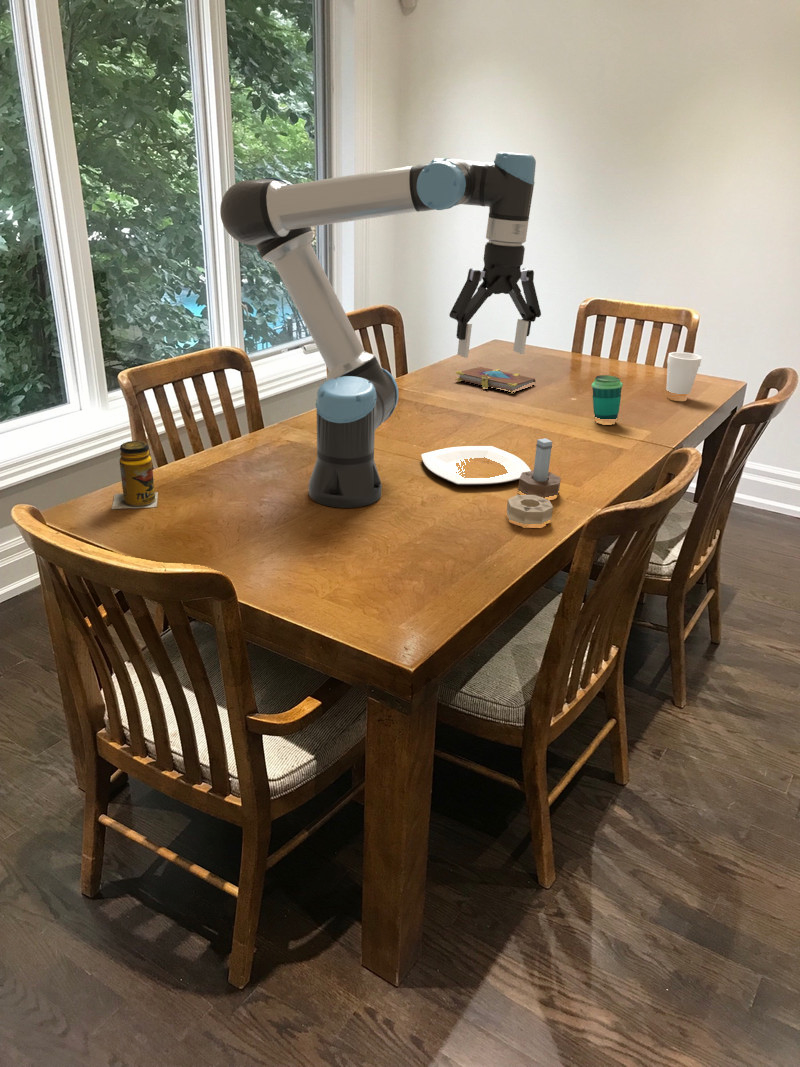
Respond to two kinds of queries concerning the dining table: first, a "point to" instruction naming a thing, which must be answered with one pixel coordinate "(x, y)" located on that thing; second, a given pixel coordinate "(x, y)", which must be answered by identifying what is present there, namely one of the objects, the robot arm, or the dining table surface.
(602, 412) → the cup
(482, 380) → the book
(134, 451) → the condiment
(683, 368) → the foam cup
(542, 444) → the long pale blue brick
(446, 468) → the plate
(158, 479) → the dining table surface
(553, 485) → the walnut bead
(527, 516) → the maple bead
